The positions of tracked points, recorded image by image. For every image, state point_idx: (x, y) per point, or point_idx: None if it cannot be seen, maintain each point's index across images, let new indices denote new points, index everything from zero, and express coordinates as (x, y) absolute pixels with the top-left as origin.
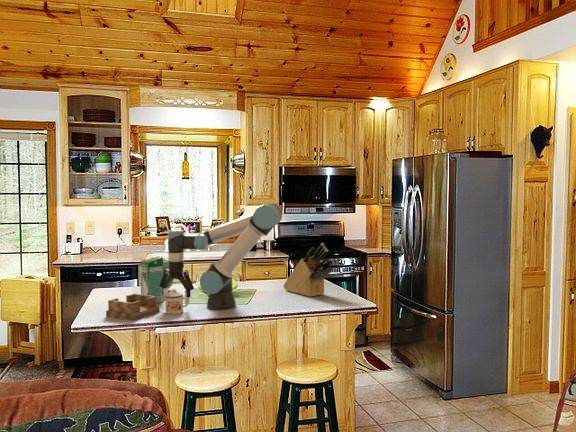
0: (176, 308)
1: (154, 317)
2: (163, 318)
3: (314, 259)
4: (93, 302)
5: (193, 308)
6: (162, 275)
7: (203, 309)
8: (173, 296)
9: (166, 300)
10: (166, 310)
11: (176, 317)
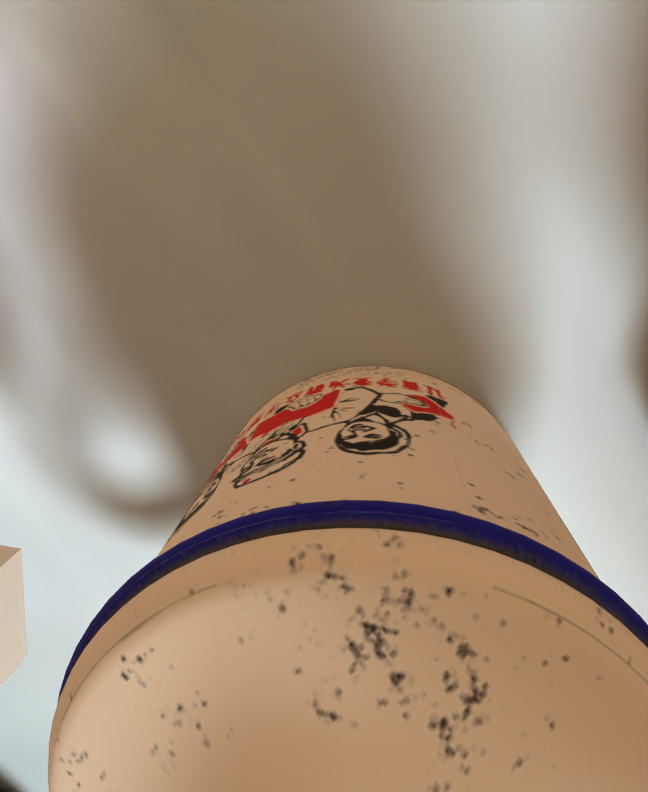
0: (231, 449)
1: (539, 19)
2: (299, 15)
3: None
4: None
5: None
6: None
7: (47, 749)
8: (183, 578)
9: (497, 496)
10: (461, 401)
11: (106, 188)
